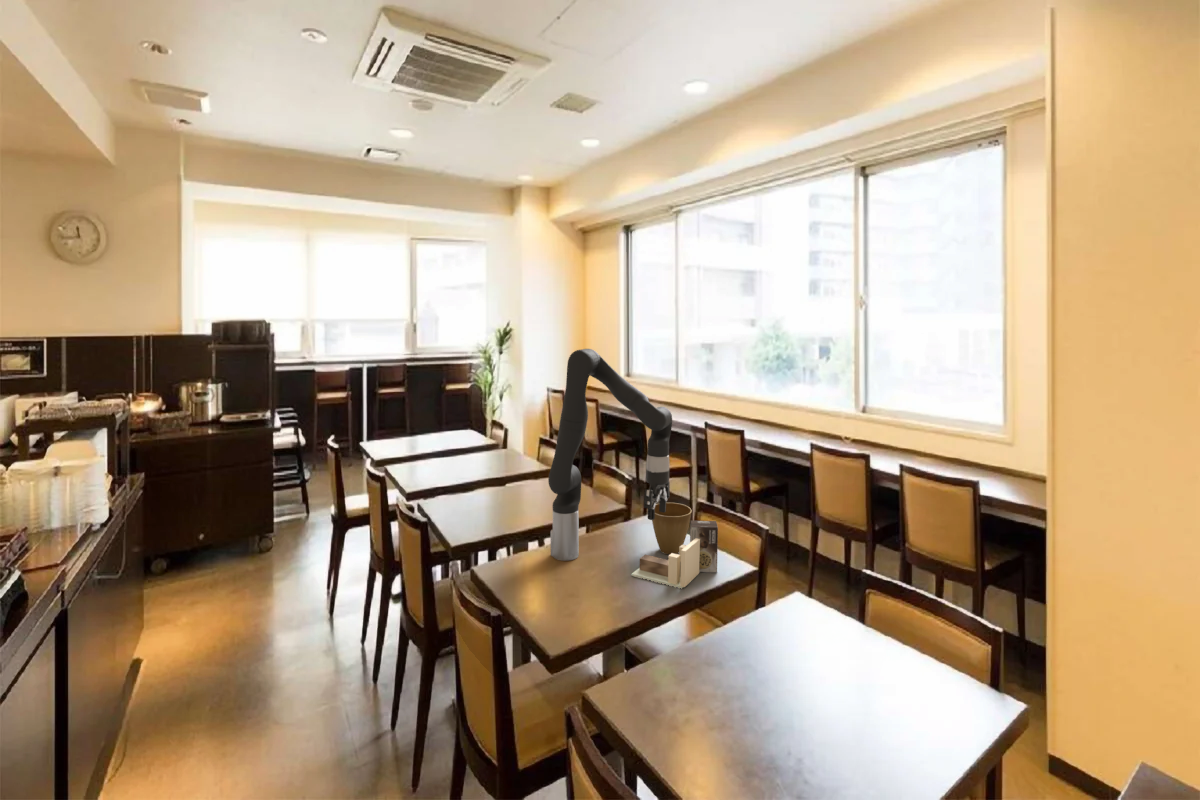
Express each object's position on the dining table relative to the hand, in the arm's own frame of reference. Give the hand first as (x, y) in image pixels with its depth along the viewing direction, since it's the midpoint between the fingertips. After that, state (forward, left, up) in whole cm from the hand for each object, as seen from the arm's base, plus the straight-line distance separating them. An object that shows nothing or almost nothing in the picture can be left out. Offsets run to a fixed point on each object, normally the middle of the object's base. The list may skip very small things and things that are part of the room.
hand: (656, 515), depth 198 cm
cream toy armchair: (+4, 0, -20) cm, 20 cm away
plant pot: (-4, +20, -20) cm, 29 cm away
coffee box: (+12, +12, -20) cm, 27 cm away
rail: (+2, 0, -19) cm, 19 cm away
